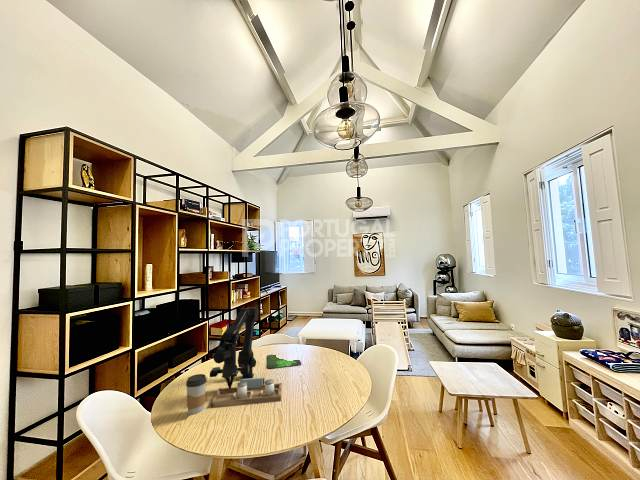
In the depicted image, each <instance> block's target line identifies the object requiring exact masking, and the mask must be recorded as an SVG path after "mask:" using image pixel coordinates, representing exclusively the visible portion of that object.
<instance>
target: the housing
mask: <svg viewBox="0 0 640 480" xmlns="http://www.w3.org/2000/svg"><path fill="white" fill-rule="evenodd" d="M282 385H283V383H282V382H279V383H274V396H266V397H265V377H262V388H251V389H247V398H245V399H237V387H236V386H235V387H231V388H229V387H225V388H222V387H219V388H218V390H217V392H216V393H215V395H214V397H213V398H212V401H211V402H210V408H221V407H230V406H241V405H251V404H261V403H271V402H280V401H282V388H283V386H282Z"/></svg>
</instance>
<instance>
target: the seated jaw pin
mask: <svg viewBox="0 0 640 480" xmlns="http://www.w3.org/2000/svg"><path fill="white" fill-rule="evenodd" d="M245 398H247V382H240V381H239V382H238V383H237V399H245Z"/></svg>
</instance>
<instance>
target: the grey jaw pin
mask: <svg viewBox="0 0 640 480" xmlns="http://www.w3.org/2000/svg"><path fill="white" fill-rule="evenodd" d="M274 384H275V380H274V379H271V378H270V379H266V380H264V385H265V397H266V396H274Z"/></svg>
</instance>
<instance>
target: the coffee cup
mask: <svg viewBox="0 0 640 480" xmlns="http://www.w3.org/2000/svg"><path fill="white" fill-rule="evenodd" d="M185 386H186V404H187V414H188V416H191V415H197V414H200V413H202V412H203V411H204V410H205V403H206V389H207V377H206V374H203V373H198V374H193V375H190V376H189V377H187V380H186V384H185Z"/></svg>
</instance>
